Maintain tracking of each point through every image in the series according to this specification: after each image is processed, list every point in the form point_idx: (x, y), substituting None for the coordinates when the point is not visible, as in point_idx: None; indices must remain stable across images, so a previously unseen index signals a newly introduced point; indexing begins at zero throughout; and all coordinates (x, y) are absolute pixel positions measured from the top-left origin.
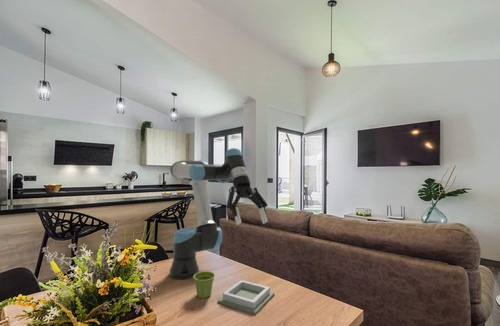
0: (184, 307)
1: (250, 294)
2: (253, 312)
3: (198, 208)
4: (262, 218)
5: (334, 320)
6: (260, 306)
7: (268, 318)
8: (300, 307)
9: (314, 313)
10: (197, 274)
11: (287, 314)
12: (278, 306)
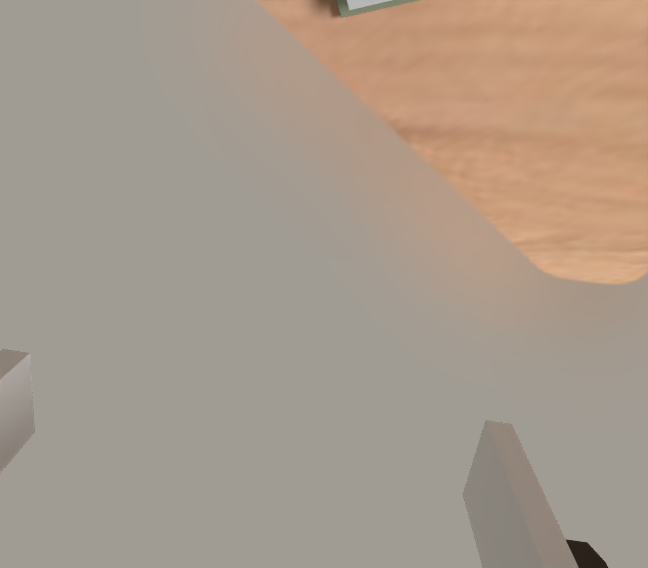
0: None
1: None
2: (338, 2)
3: None
4: (496, 496)
5: (523, 246)
6: (402, 1)
7: (365, 75)
8: (546, 133)
9: (529, 189)
10: None
11: (451, 118)
12: (490, 52)
